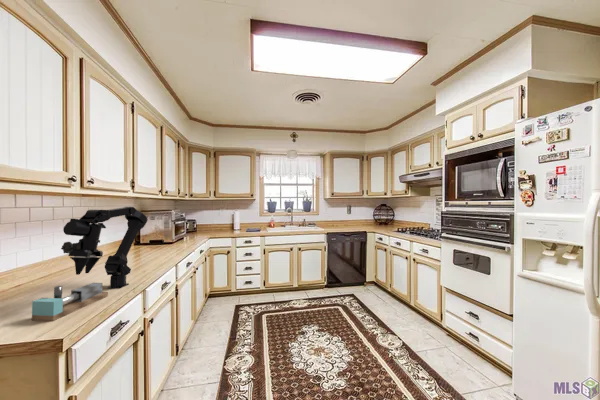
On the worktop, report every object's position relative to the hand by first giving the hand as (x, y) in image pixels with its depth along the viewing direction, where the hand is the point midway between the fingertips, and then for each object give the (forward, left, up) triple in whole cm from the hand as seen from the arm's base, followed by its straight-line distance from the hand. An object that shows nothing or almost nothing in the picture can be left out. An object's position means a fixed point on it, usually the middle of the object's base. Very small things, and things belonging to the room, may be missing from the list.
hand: (82, 273), depth 106 cm
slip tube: (+10, +3, -9) cm, 14 cm away
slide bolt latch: (+6, +3, -11) cm, 13 cm away
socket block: (+16, +3, -10) cm, 19 cm away
